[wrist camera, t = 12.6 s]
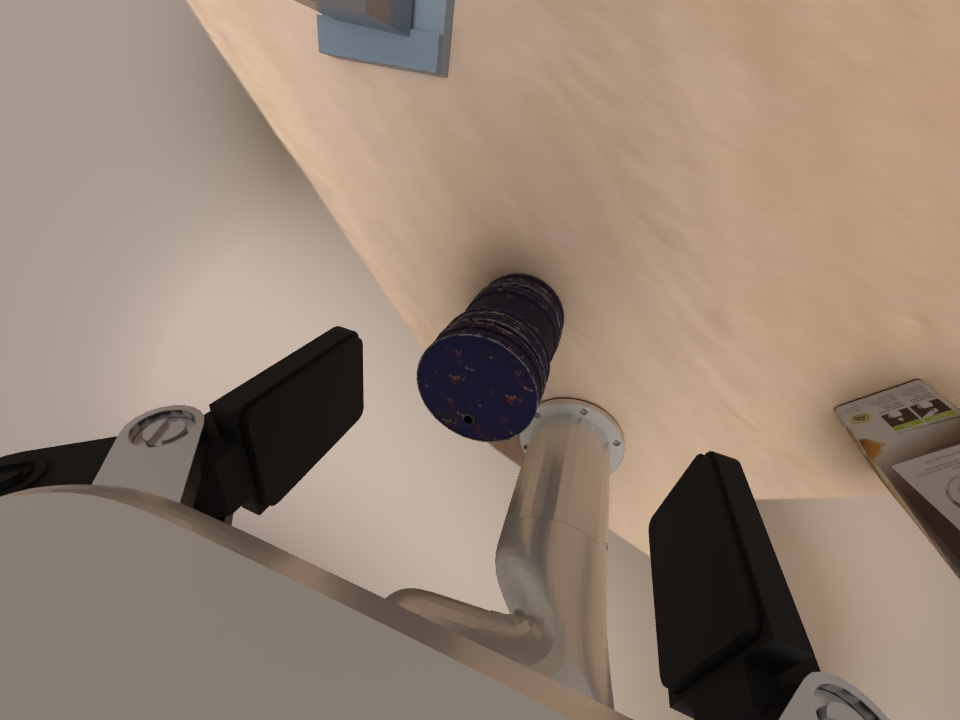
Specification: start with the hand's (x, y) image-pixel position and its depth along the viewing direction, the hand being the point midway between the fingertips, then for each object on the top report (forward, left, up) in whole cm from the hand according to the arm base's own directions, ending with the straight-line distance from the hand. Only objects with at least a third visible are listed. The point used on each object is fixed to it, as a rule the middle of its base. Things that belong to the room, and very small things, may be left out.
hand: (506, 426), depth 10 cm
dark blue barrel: (-10, +4, -28) cm, 30 cm away
